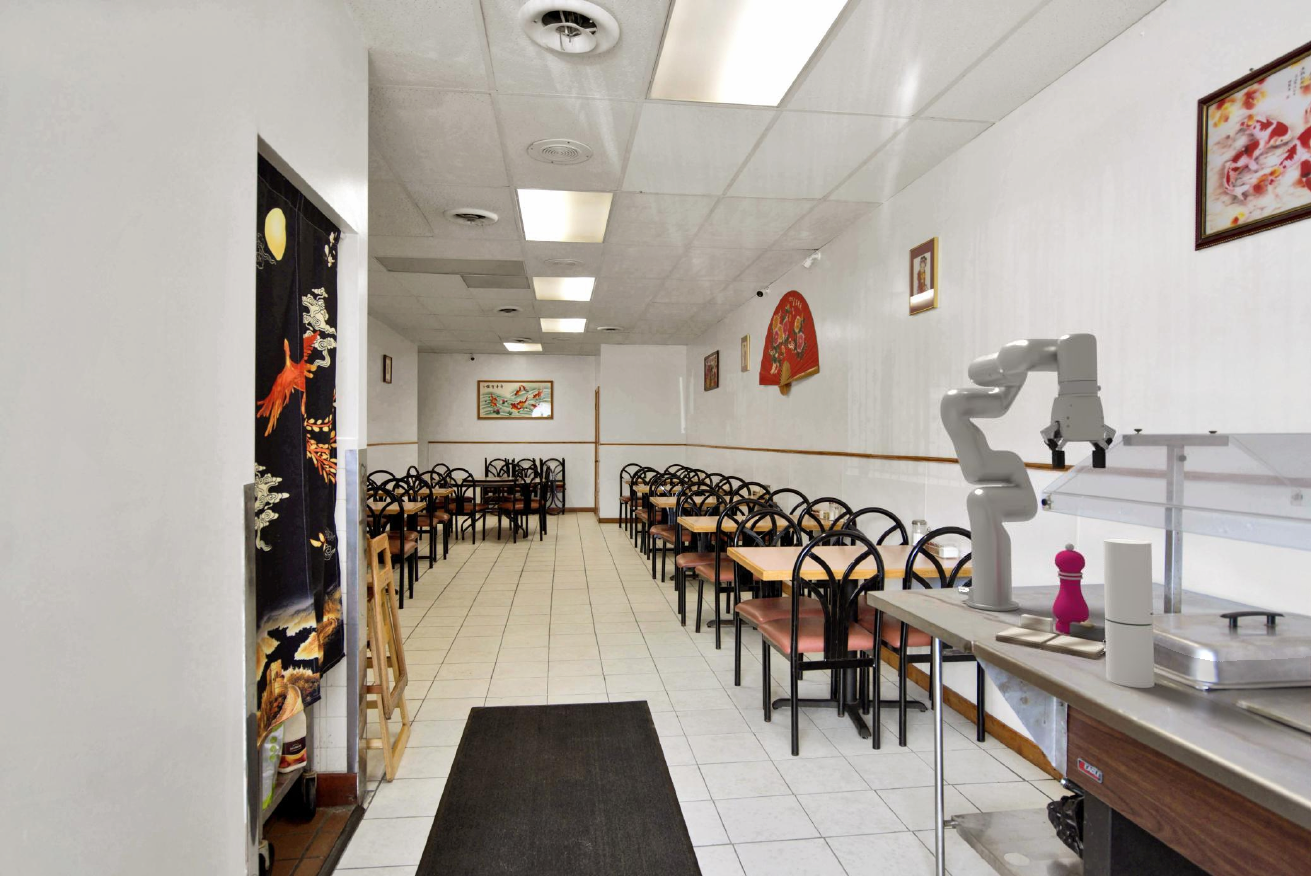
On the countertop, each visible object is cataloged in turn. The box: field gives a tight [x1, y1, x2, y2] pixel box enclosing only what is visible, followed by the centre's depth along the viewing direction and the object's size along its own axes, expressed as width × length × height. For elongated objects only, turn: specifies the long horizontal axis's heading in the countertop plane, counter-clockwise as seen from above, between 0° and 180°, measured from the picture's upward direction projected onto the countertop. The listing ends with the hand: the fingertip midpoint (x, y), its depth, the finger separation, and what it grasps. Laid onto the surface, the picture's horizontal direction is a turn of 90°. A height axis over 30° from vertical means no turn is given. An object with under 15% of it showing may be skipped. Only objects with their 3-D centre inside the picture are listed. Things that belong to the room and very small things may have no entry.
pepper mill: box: [1052, 542, 1090, 635], centre depth 160 cm, size 7×7×20 cm
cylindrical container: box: [1103, 538, 1155, 689], centre depth 125 cm, size 7×7×25 cm
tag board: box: [995, 613, 1105, 660], centre depth 149 cm, size 19×12×4 cm, turn 42°
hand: (1079, 468), depth 154 cm, fingers open, 9 cm apart
